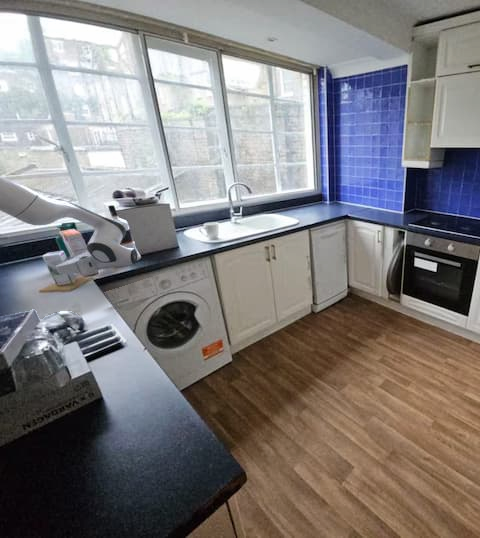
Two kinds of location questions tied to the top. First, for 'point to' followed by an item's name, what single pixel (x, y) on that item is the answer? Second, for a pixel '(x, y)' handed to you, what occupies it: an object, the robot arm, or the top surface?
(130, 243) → the vodka
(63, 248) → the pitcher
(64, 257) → the syrup box
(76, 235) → the cracker box
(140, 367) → the top surface
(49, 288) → the cork mat
